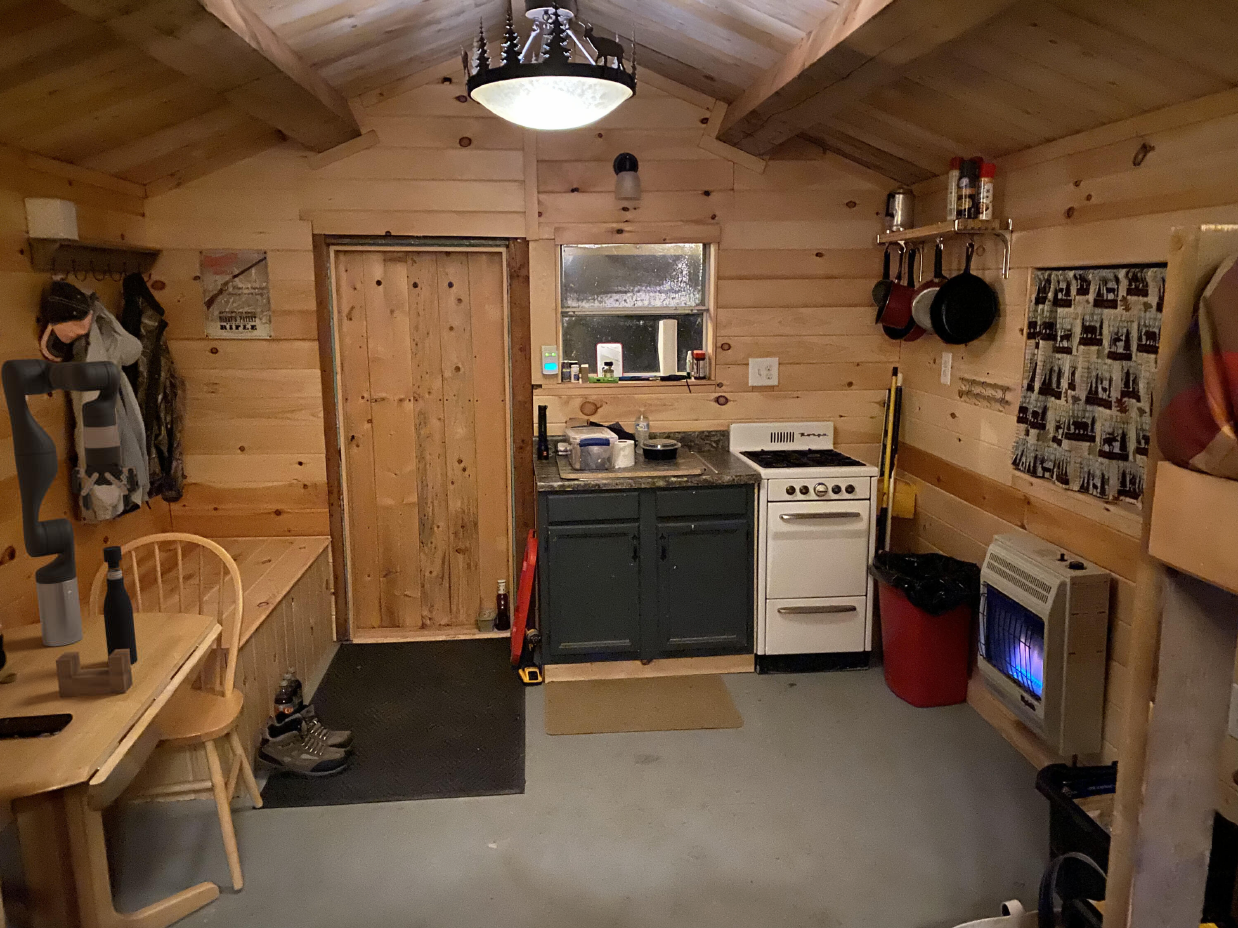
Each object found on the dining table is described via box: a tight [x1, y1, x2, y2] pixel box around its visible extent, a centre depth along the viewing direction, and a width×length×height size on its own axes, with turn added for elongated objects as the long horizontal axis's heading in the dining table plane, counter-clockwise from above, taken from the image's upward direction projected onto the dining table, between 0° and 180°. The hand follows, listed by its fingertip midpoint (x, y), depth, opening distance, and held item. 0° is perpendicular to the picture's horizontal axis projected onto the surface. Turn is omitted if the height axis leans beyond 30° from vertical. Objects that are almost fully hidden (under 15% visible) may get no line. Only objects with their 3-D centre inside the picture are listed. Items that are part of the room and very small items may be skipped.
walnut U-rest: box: [55, 649, 134, 698], centre depth 211 cm, size 5×14×9 cm, turn 100°
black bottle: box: [102, 545, 138, 666], centre depth 226 cm, size 6×6×30 cm
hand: (108, 509), depth 221 cm, fingers open, 8 cm apart
